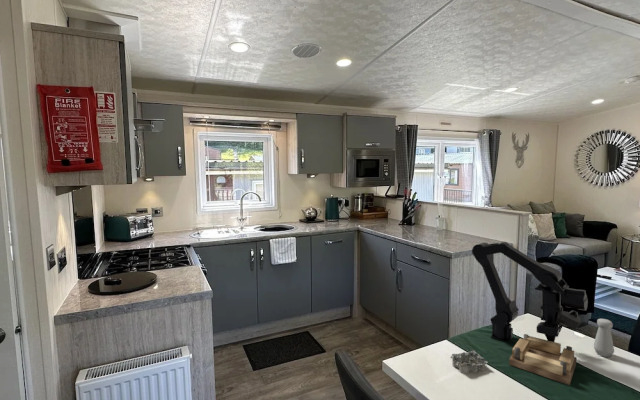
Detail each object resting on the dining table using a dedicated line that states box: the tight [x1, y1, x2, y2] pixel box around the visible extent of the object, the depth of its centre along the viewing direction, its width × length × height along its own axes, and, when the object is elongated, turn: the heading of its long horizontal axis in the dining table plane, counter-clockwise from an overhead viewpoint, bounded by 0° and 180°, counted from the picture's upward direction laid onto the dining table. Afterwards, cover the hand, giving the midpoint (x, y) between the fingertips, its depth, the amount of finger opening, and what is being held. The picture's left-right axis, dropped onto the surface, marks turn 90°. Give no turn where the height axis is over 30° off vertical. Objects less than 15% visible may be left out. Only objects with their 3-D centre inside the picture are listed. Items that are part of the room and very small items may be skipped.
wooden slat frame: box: [508, 338, 578, 386], centre depth 115 cm, size 17×17×6 cm
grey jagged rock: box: [449, 349, 489, 374], centre depth 114 cm, size 11×8×4 cm
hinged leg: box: [523, 333, 562, 355], centre depth 121 cm, size 11×3×4 cm, turn 51°
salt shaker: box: [593, 318, 615, 358], centre depth 120 cm, size 6×6×13 cm
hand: (551, 344), depth 121 cm, fingers closed
